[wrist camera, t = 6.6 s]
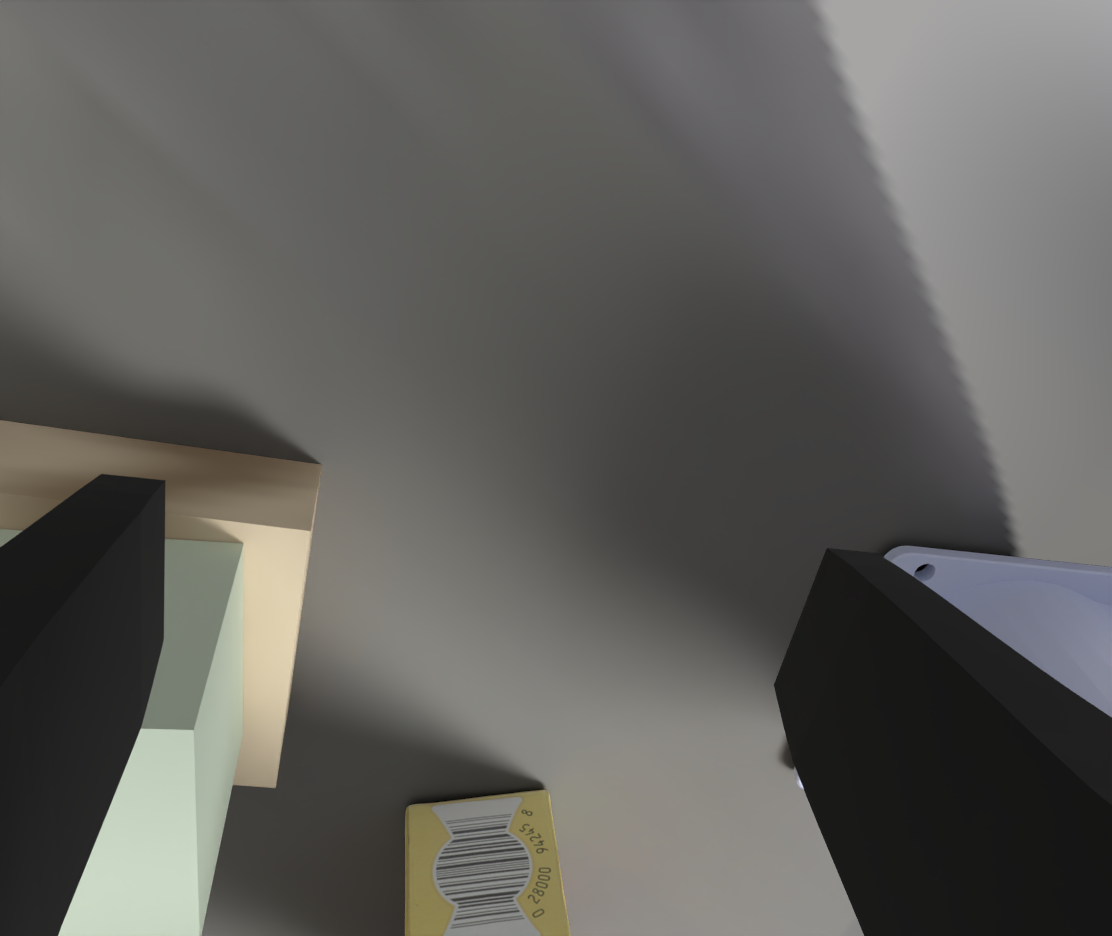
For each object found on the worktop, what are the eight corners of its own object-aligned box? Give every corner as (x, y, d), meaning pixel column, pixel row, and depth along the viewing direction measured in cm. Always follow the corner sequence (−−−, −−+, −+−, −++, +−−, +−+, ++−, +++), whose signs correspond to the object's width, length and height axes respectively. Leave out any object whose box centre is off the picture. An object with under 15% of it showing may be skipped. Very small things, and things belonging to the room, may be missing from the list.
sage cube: (244, 543, 19) (194, 730, 15) (243, 735, 22) (199, 943, 18) (-38, 526, 19) (-177, 719, 14) (-7, 728, 21) (-117, 945, 17)
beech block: (323, 455, 22) (310, 531, 20) (290, 696, 25) (275, 788, 23) (-25, 406, 21) (-89, 481, 18) (-13, 668, 24) (-65, 763, 21)
